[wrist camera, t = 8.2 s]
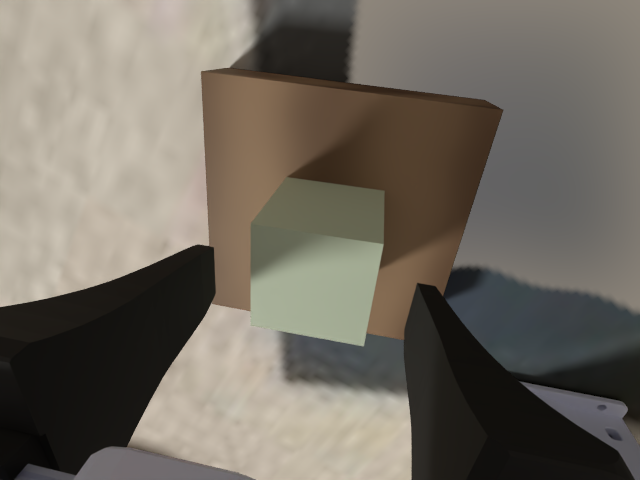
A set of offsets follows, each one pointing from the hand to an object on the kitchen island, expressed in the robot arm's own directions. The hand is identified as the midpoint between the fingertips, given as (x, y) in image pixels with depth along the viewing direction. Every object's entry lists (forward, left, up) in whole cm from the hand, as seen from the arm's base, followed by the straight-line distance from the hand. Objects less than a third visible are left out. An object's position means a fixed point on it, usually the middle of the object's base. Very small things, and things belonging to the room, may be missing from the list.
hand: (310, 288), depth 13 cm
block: (0, 0, -5) cm, 5 cm away
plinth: (0, 0, -8) cm, 8 cm away
